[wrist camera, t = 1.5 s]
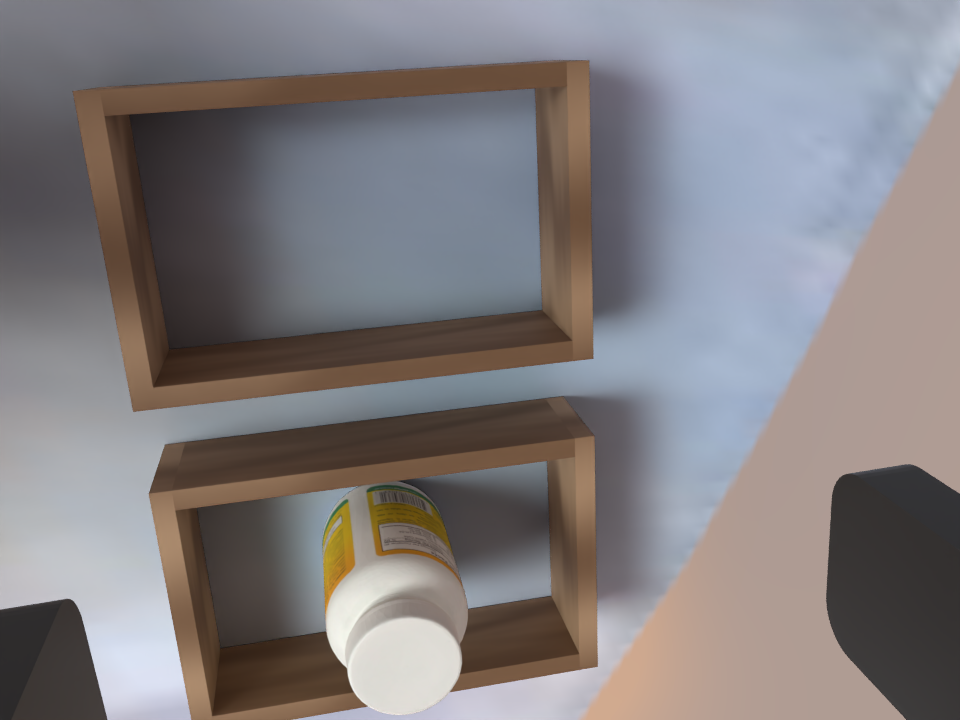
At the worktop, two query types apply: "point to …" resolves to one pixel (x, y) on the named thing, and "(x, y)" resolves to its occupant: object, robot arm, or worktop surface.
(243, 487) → the far crate
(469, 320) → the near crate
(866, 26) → the worktop surface
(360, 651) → the supplement bottle
